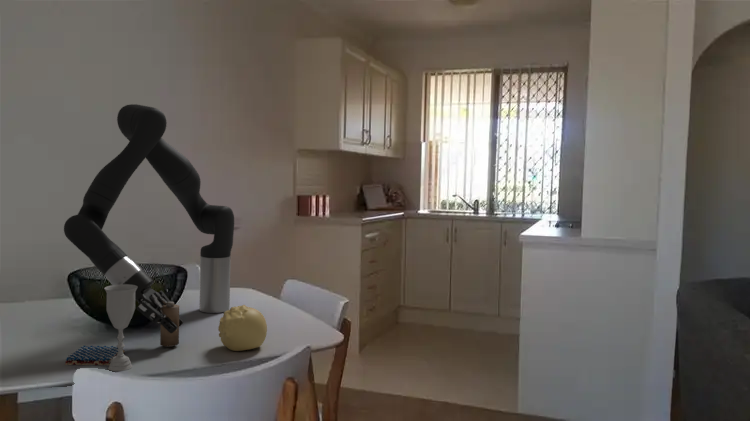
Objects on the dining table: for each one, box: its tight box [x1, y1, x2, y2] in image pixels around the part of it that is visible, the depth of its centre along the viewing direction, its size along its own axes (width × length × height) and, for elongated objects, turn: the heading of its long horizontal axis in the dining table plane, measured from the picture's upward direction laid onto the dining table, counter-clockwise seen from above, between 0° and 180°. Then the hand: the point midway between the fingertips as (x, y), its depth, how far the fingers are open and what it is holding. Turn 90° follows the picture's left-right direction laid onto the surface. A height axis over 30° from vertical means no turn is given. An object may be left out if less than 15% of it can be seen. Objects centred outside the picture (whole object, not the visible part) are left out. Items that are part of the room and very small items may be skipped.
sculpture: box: [217, 304, 268, 352], centre depth 150 cm, size 12×12×11 cm
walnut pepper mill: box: [159, 301, 180, 347], centre depth 149 cm, size 4×4×10 cm
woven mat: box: [64, 345, 126, 366], centre depth 139 cm, size 10×11×2 cm
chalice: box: [104, 284, 138, 372], centre depth 132 cm, size 7×7×18 cm
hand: (177, 327), depth 149 cm, fingers closed on walnut pepper mill, 4 cm apart
